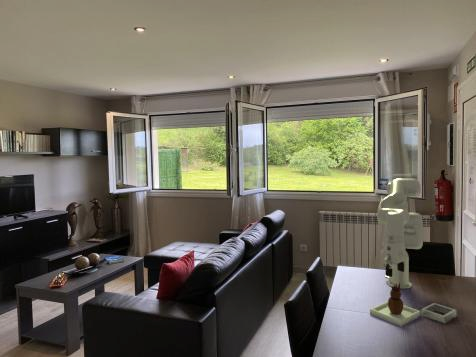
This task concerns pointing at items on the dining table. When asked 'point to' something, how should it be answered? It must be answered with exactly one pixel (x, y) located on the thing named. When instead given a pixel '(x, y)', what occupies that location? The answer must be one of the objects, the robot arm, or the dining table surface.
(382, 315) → the sage tray
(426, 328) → the dining table surface
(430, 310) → the white square bin
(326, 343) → the dining table surface
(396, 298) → the brown lumpy elongated piece
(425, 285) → the dining table surface
